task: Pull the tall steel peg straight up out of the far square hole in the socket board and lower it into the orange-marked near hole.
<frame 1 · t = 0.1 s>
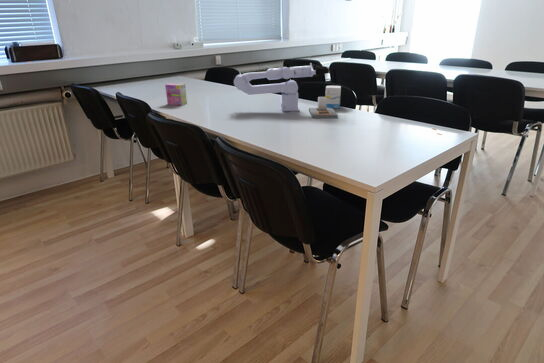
hand: (327, 69, 203), 22 cm above the table, tool horizontal, fingers open, 7 cm apart
ink box: (332, 107, 218), on the table
steel peg: (321, 112, 205), resting in socket board
box: (177, 104, 227), on the table
socket board: (322, 114, 201), on the table
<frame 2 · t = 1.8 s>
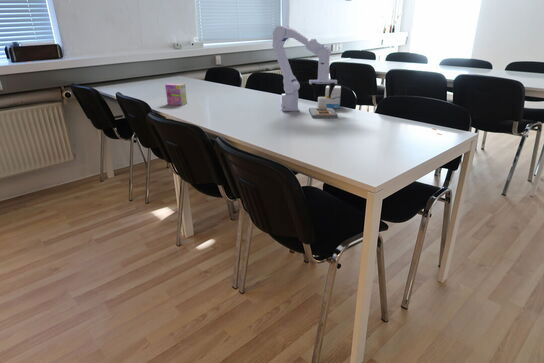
hand: (322, 97, 202), 8 cm above the table, tool pointing down, fingers open, 7 cm apart
nothing on the table moved.
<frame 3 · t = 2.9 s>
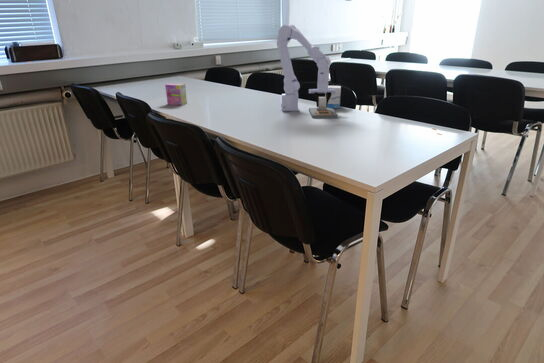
hand: (321, 106, 204), 3 cm above the table, tool pointing down, fingers closed on steel peg, 4 cm apart
steel peg: (321, 112, 205), resting in socket board, touching gripper
everything else where it was.
when the fingers open (4 cm above the table, at t = 6.2 s): steel peg stays where it is, resting in socket board.
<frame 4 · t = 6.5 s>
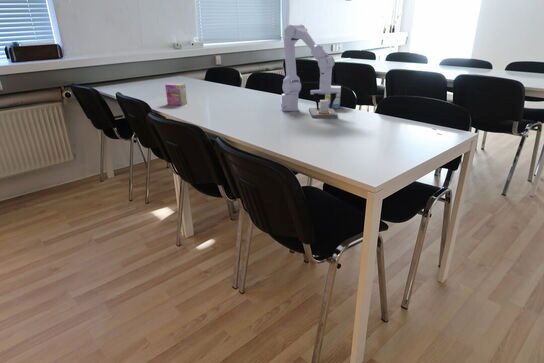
hand: (324, 108, 195), 4 cm above the table, tool pointing down, fingers open, 6 cm apart
steel peg: (323, 115, 197), resting in socket board
everything else where it was.
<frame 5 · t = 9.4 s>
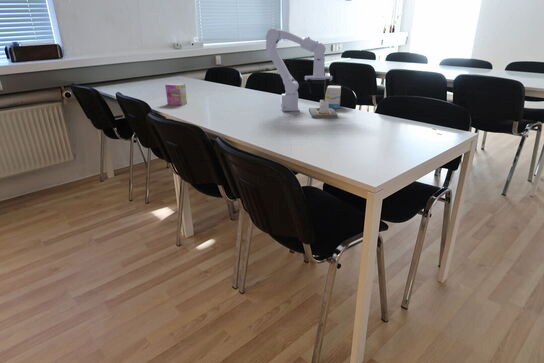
hand: (317, 93, 205), 9 cm above the table, tool pointing down, fingers open, 7 cm apart
nothing on the table moved.
at the end: steel peg 0.2 cm from the target spot on the socket board, point 0.0 cm above the socket board's base; steel peg tilted 0°; the gripper is holding nothing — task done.
